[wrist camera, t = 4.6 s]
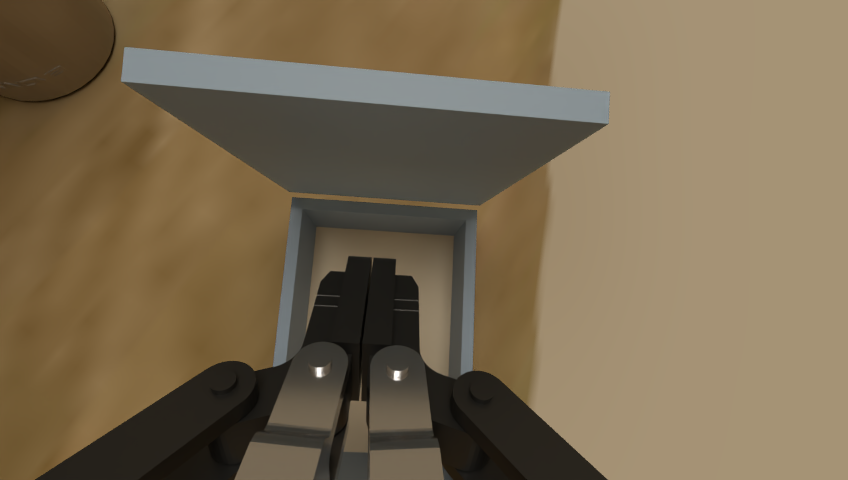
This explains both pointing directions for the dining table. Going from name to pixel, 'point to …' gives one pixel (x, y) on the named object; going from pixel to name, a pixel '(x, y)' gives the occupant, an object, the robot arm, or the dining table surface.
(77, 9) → the robot arm
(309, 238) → the box
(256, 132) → the lid
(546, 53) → the dining table surface
